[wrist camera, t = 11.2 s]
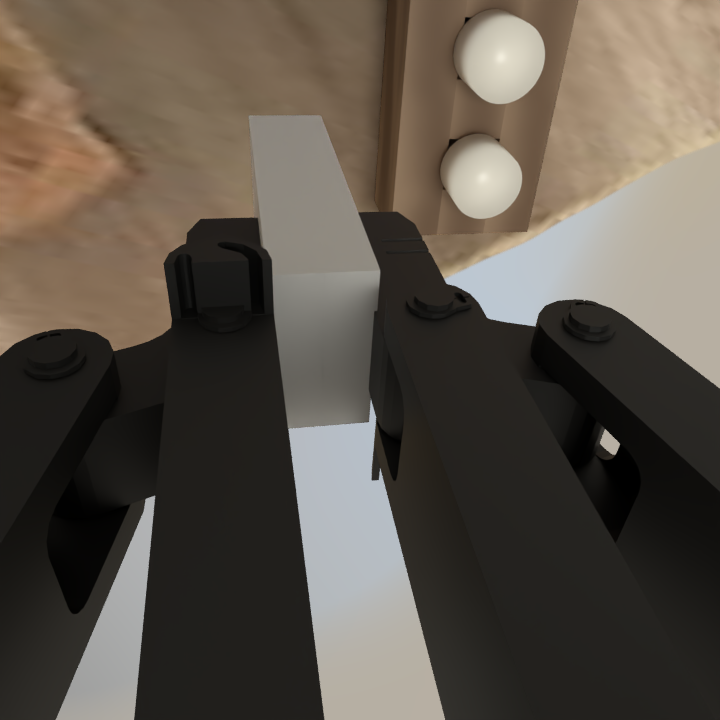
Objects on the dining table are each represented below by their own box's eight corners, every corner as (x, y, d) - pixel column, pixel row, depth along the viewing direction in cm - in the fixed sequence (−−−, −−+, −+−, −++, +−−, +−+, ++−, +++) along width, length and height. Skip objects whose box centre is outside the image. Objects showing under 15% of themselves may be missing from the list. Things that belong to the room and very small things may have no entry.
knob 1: (426, 65, 44) (463, 104, 38) (433, -9, 42) (475, 18, 35) (488, 66, 45) (535, 104, 38) (499, -7, 42) (552, 20, 36)
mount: (374, 200, 50) (390, 236, 46) (401, -217, 36) (429, -227, 31) (499, 197, 52) (527, 231, 47) (574, -203, 37) (624, -211, 33)
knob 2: (416, 168, 48) (448, 219, 42) (423, 106, 46) (458, 150, 39) (474, 167, 49) (514, 217, 42) (483, 106, 46) (528, 150, 40)
